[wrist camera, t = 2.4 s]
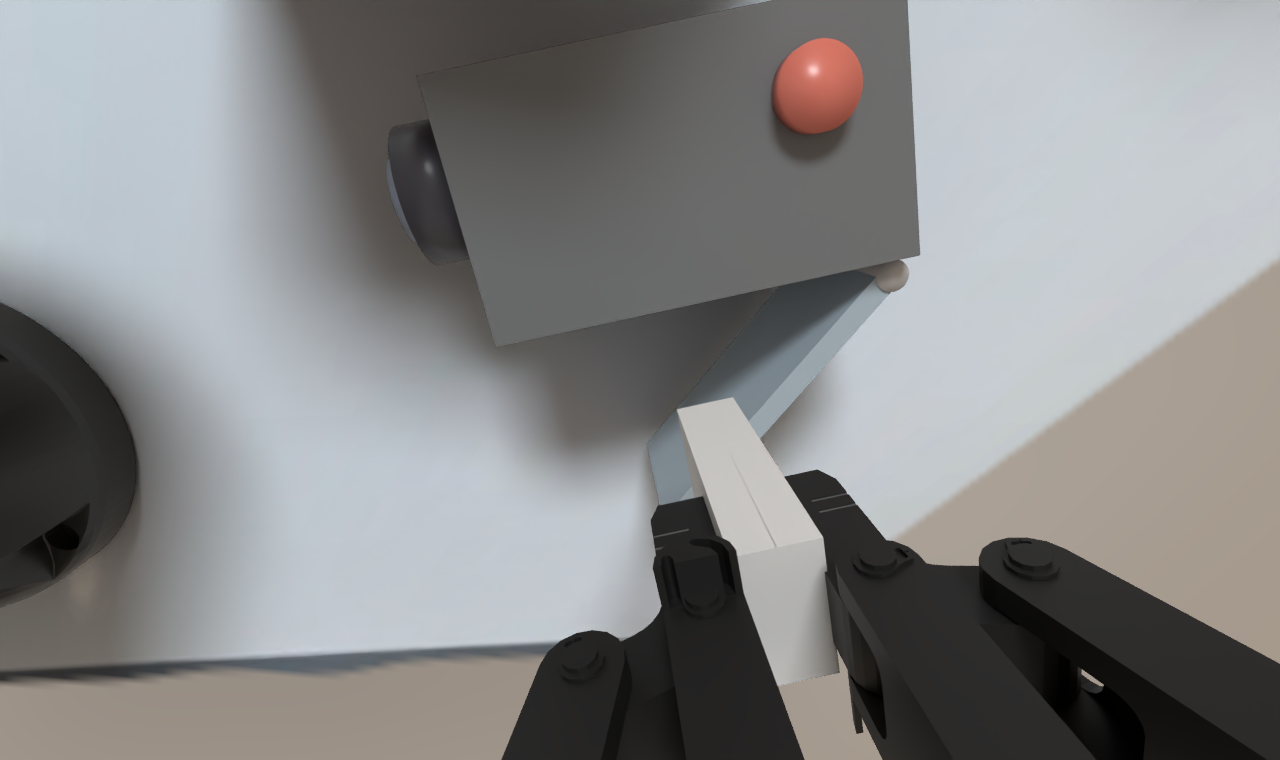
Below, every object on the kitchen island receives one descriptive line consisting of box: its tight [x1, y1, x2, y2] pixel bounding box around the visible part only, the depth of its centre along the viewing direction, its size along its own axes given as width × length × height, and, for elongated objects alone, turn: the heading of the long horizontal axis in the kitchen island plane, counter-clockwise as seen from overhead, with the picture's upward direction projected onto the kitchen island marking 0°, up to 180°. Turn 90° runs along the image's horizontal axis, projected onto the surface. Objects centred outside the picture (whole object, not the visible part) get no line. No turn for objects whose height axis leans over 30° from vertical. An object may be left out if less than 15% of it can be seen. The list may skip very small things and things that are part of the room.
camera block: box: [386, 0, 920, 347], centre depth 22 cm, size 16×8×10 cm, turn 101°
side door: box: [647, 260, 909, 505], centre depth 25 cm, size 13×2×7 cm, turn 142°
